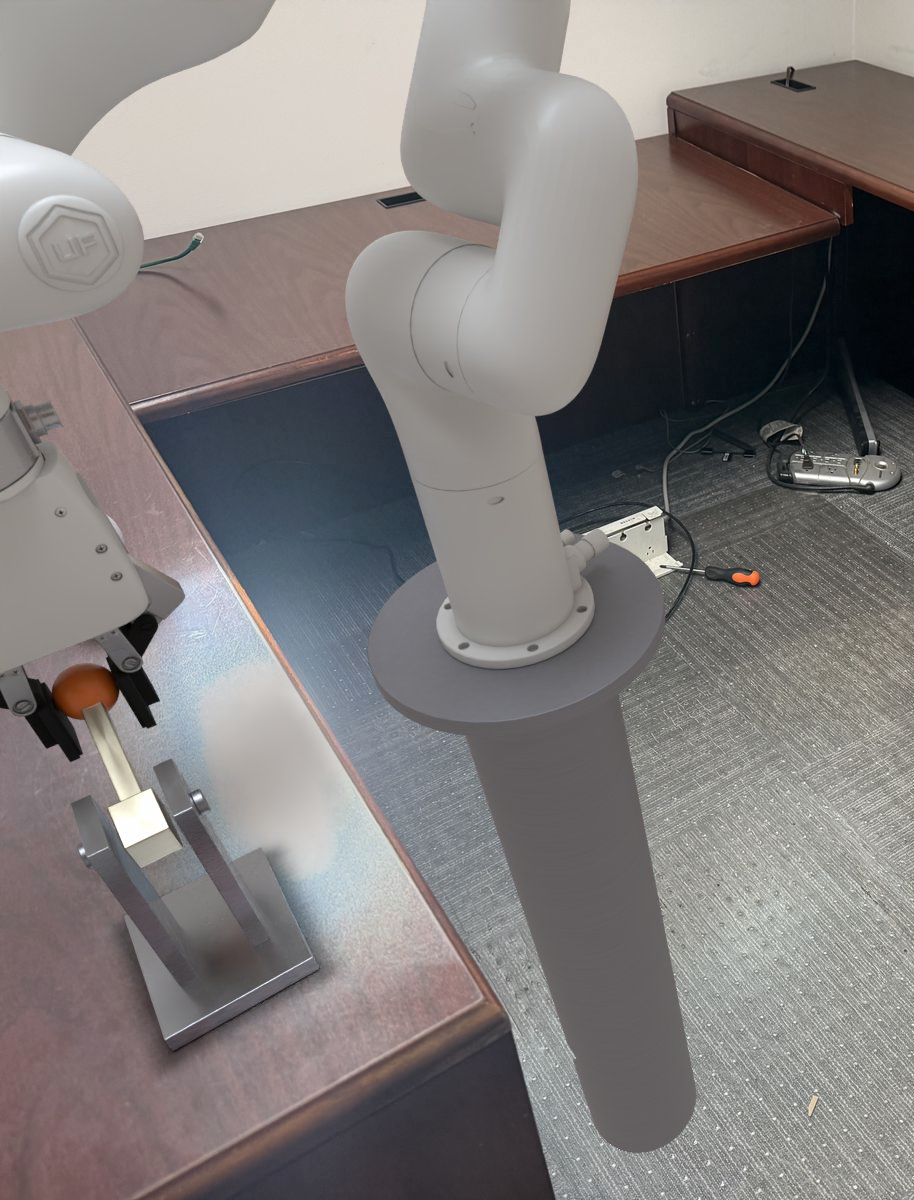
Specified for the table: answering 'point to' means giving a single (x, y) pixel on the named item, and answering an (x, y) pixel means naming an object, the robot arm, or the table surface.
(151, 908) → the bracket
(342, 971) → the table surface
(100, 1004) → the table surface
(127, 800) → the lever
